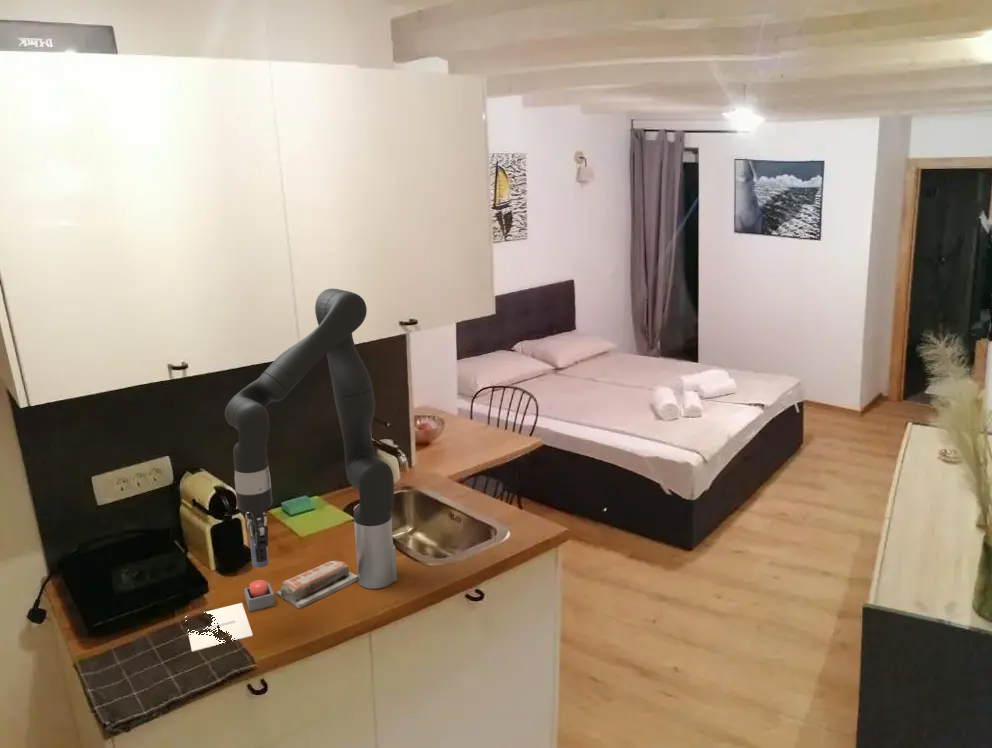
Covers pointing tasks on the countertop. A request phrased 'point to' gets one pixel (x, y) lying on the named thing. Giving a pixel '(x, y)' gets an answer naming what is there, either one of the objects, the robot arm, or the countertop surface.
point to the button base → (259, 599)
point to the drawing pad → (222, 627)
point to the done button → (258, 588)
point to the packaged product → (316, 583)
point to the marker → (253, 554)
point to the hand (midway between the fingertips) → (259, 556)
